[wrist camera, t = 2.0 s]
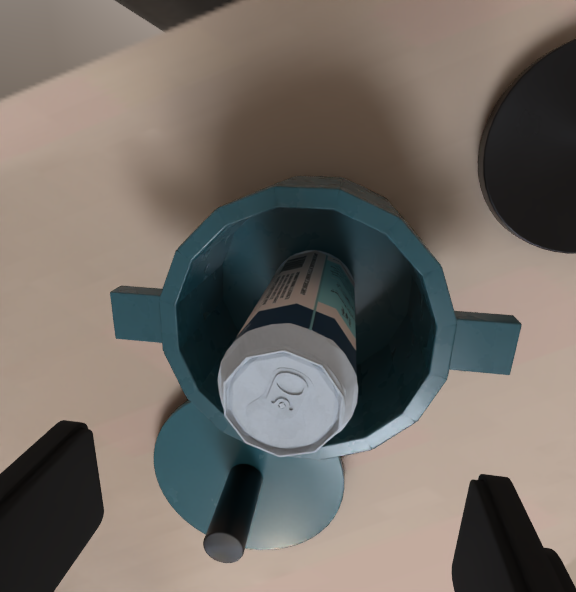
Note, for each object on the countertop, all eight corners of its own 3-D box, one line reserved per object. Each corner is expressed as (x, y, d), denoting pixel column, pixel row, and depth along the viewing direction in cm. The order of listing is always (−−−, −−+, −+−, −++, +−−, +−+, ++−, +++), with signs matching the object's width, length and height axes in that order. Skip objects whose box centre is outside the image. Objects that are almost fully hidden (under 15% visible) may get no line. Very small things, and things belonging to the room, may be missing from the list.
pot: (163, 170, 24) (85, 178, 17) (492, 182, 21) (562, 197, 14) (177, 364, 28) (119, 435, 21) (453, 391, 26) (492, 482, 19)
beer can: (262, 307, 25) (191, 434, 14) (289, 235, 23) (233, 313, 12) (336, 337, 25) (324, 488, 14) (368, 267, 23) (385, 374, 12)
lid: (153, 373, 28) (97, 436, 22) (351, 393, 27) (352, 468, 20) (167, 522, 33) (124, 609, 27) (337, 548, 31) (334, 647, 25)
